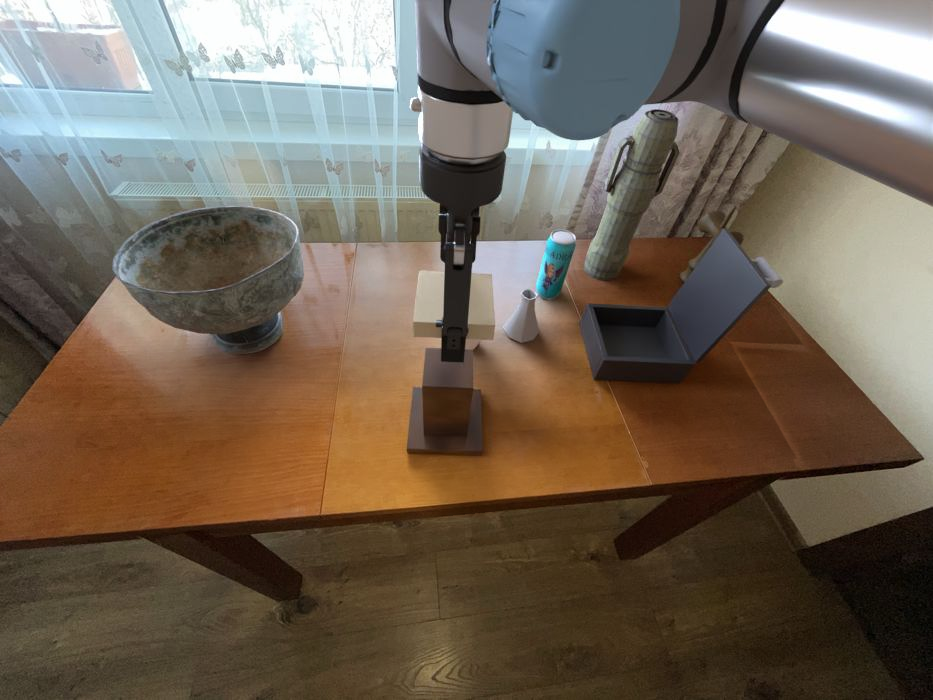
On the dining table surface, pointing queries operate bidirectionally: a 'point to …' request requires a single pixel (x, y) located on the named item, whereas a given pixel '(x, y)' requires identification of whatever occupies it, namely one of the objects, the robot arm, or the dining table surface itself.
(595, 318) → the open box
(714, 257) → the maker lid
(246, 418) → the dining table surface
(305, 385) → the dining table surface
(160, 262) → the decorative bowl
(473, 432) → the stand
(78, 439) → the dining table surface
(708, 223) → the kendama
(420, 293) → the beige flat square block
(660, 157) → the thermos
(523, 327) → the flask
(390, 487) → the dining table surface
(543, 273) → the beverage can
